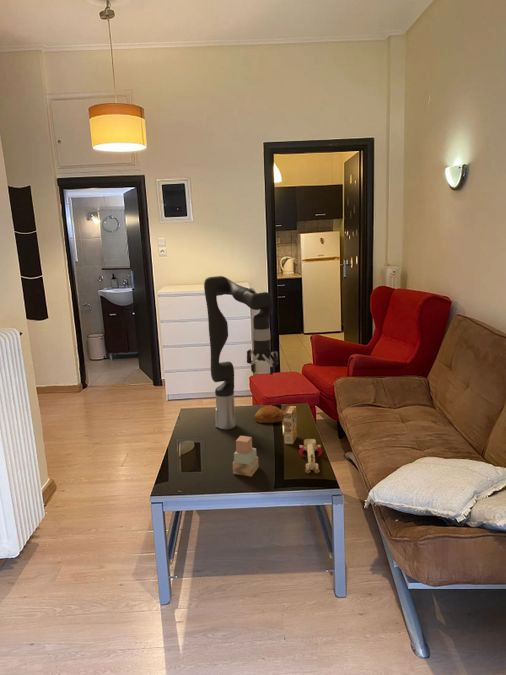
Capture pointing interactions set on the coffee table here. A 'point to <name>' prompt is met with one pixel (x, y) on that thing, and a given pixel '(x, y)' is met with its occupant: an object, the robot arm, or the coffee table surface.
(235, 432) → the coffee table surface
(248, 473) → the oak block
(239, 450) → the terracotta cube
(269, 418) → the bread roll
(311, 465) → the beige elongated piece
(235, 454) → the sage block
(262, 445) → the coffee table surface
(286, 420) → the candy box
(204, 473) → the coffee table surface
